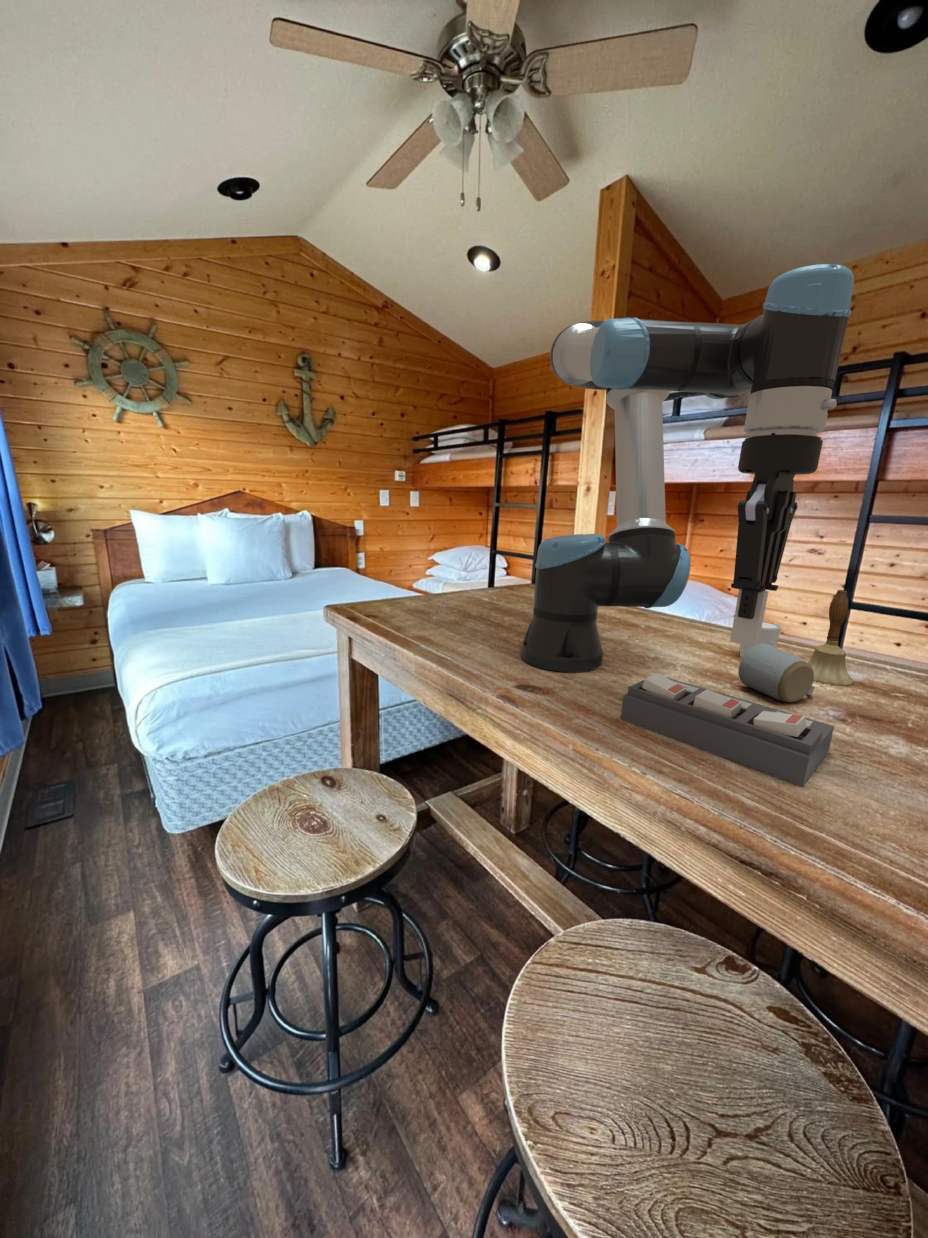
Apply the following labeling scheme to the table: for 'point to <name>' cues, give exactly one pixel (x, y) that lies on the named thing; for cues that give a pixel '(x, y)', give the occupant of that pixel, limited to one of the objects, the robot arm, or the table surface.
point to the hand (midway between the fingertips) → (744, 642)
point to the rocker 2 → (781, 723)
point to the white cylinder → (765, 636)
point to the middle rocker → (717, 703)
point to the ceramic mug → (776, 673)
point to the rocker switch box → (730, 732)
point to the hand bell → (832, 647)
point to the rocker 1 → (664, 687)
